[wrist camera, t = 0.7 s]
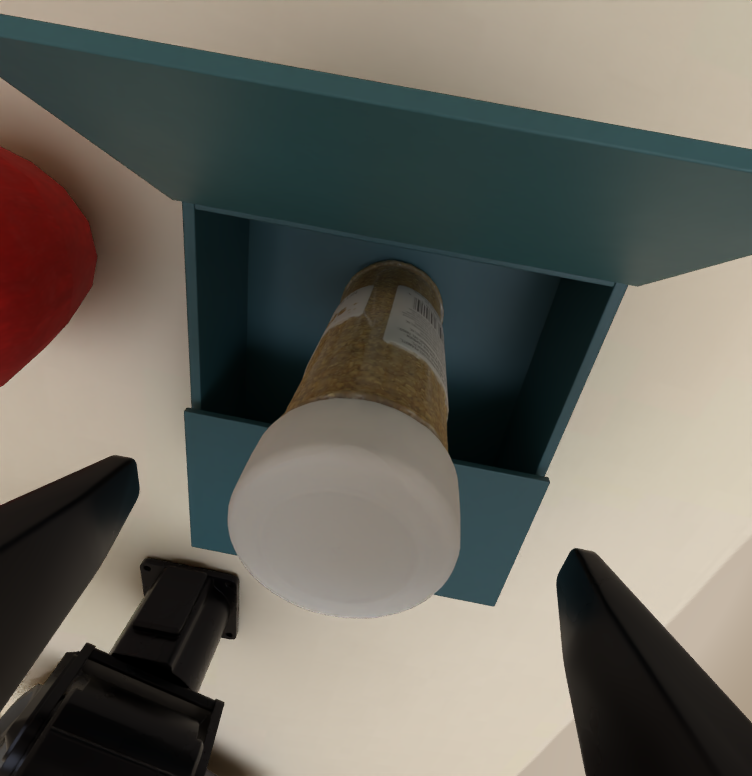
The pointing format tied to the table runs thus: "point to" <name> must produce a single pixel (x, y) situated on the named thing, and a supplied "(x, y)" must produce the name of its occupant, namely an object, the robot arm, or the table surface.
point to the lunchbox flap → (391, 157)
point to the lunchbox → (462, 356)
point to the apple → (38, 261)
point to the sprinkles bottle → (359, 461)
